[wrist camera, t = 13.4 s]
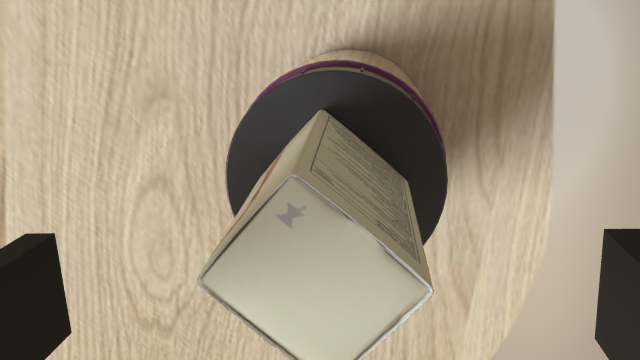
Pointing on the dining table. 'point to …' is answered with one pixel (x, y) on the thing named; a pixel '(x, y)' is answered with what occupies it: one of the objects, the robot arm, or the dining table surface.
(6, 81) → the dining table surface
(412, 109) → the jar lid
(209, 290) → the cardboard box
